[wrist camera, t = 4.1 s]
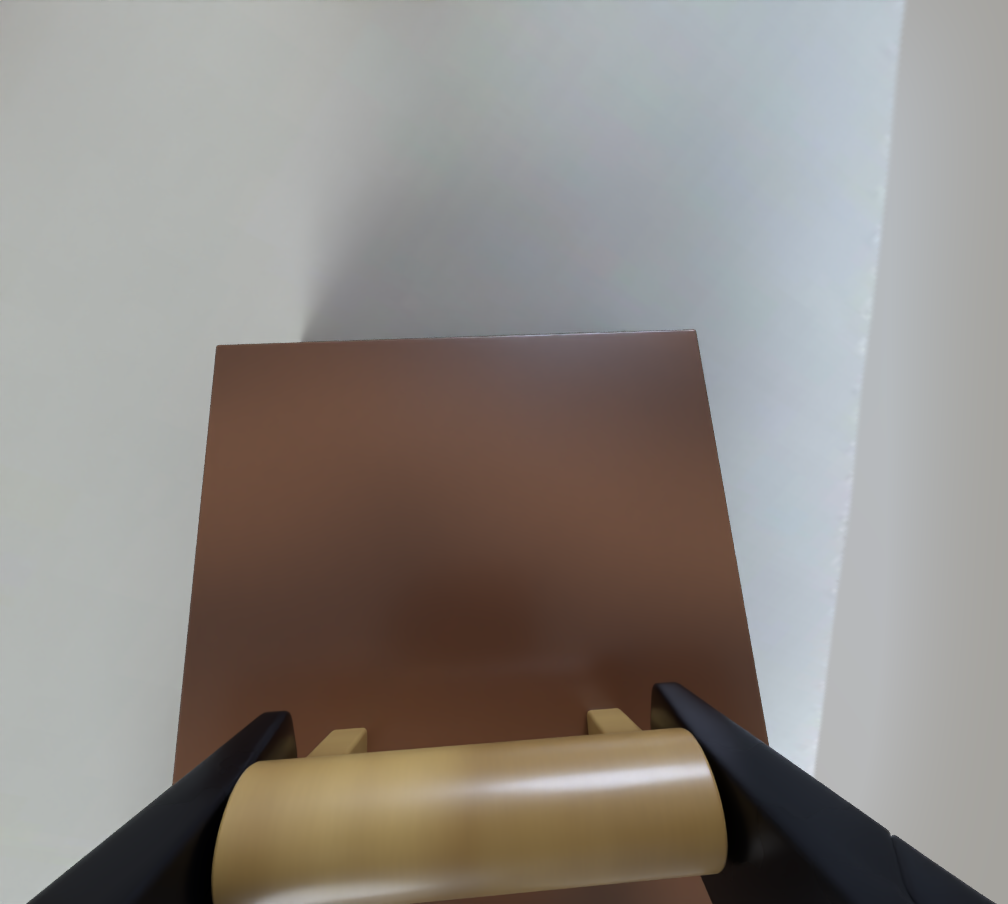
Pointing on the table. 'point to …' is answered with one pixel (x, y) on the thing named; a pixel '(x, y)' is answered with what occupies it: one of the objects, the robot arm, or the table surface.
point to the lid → (465, 619)
